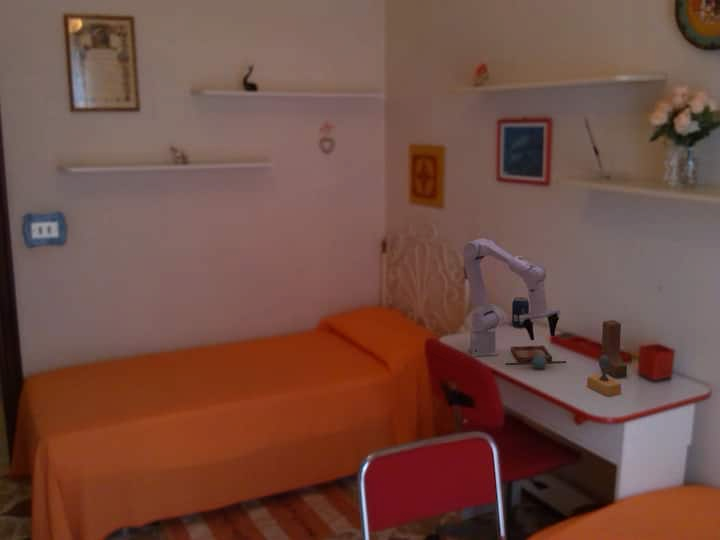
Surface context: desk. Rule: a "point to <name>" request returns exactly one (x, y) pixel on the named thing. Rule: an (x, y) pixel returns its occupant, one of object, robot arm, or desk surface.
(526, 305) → the soda can
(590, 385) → the rubber stamp
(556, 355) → the desk surface
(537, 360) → the ball
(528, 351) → the tray
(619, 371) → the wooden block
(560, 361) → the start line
